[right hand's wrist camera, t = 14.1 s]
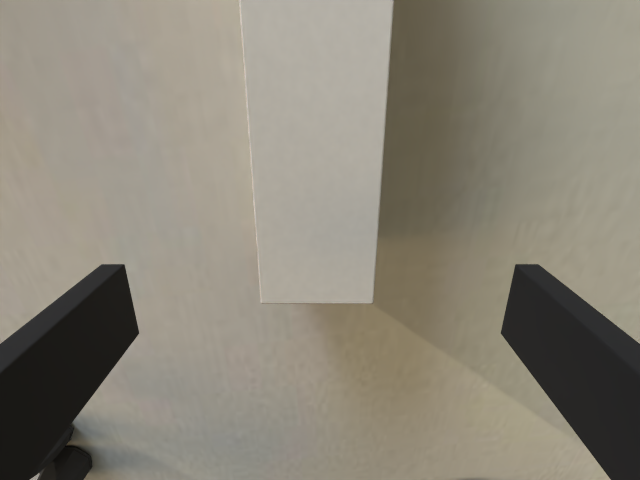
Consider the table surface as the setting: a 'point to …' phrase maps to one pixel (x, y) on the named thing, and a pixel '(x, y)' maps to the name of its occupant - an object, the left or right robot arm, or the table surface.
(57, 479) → the robot
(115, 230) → the table surface
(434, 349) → the table surface
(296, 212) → the bar
